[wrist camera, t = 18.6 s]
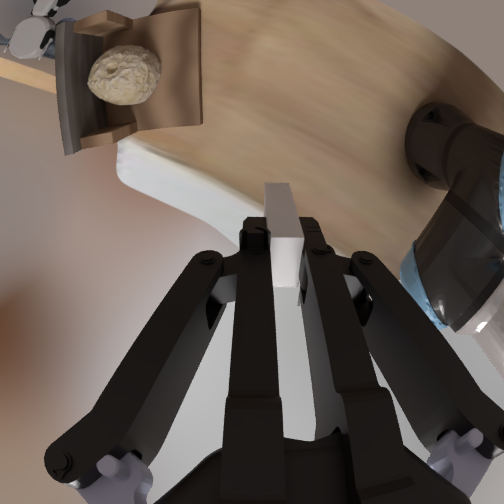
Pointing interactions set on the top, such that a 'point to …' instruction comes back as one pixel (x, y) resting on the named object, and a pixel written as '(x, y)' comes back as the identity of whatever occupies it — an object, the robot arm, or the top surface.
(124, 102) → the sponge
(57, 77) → the walnut shelf
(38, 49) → the robot toy
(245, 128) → the top surface
